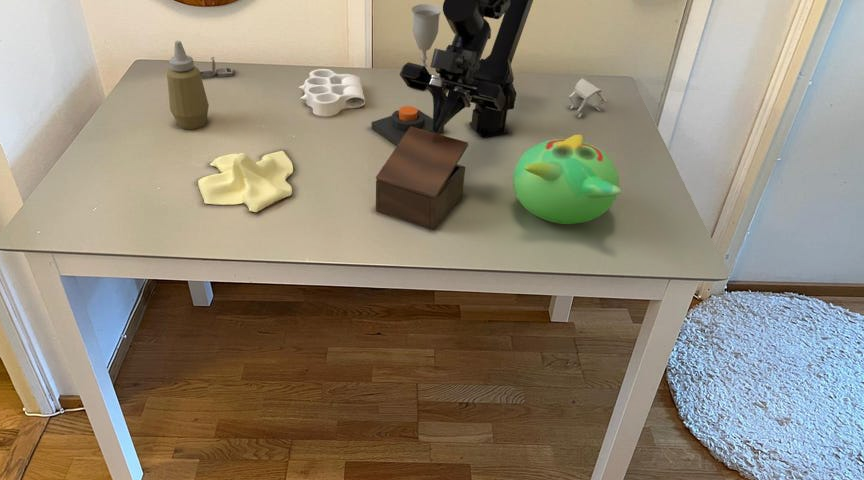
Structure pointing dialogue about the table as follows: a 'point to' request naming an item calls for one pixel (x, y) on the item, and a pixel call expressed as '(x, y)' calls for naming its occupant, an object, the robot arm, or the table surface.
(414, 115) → the button
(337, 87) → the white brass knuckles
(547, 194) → the toy bird
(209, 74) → the strap clip
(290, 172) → the cloth
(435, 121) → the robot arm
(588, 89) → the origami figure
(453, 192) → the tea box
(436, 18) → the chalice
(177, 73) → the squeeze bottle
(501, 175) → the table surface
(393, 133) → the button block
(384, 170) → the lid
